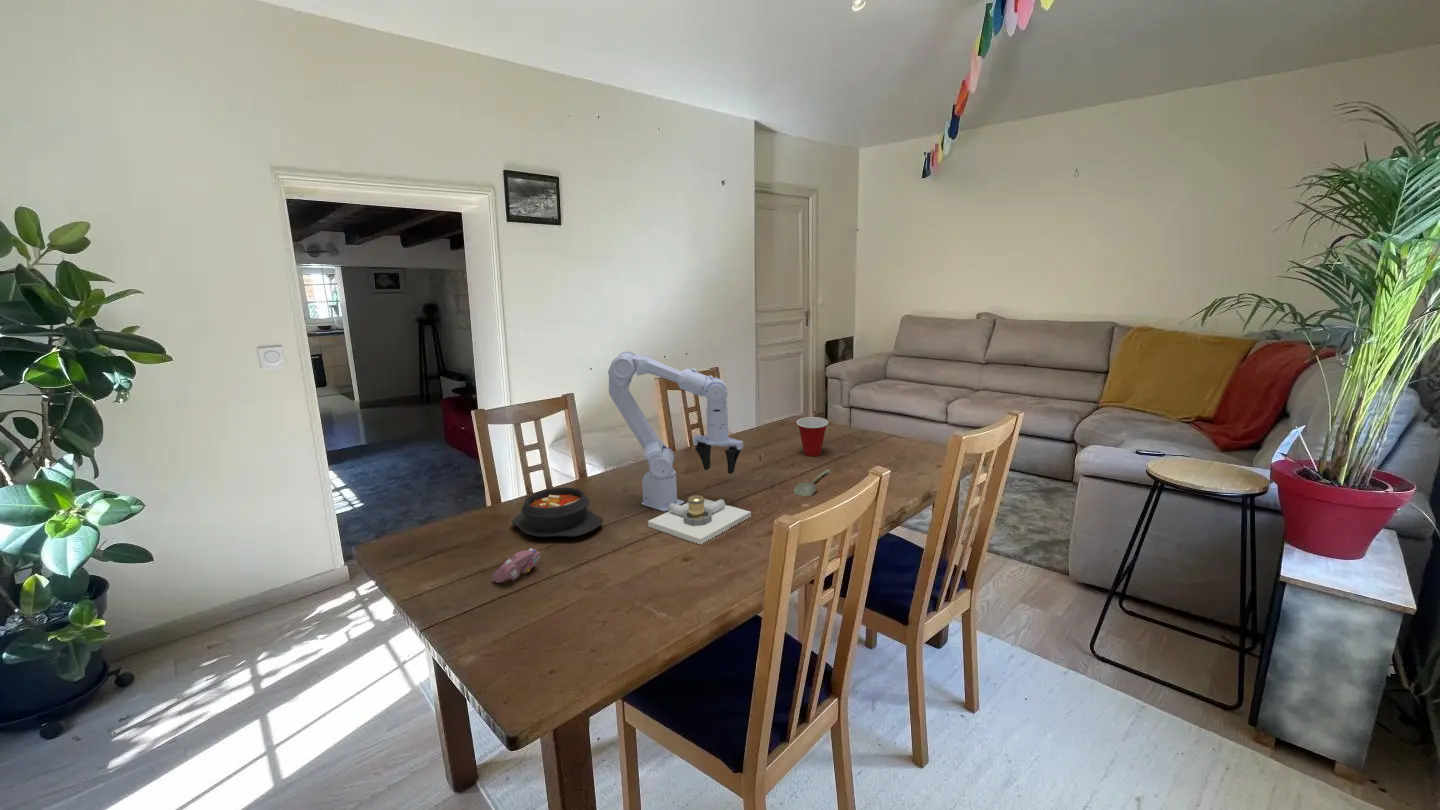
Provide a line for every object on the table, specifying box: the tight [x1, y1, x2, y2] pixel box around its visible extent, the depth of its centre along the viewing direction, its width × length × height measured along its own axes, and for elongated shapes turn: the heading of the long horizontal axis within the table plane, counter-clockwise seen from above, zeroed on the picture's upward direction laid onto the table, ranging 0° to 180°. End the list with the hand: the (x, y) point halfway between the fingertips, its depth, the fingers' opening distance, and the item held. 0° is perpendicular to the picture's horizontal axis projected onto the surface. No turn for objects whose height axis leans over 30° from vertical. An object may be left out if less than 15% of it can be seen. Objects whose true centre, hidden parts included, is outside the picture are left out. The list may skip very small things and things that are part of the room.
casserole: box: [511, 487, 604, 538], centre depth 153 cm, size 25×19×8 cm
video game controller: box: [492, 547, 542, 584], centre depth 129 cm, size 10×5×7 cm, turn 148°
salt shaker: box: [687, 494, 705, 519], centre depth 151 cm, size 4×4×6 cm
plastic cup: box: [796, 416, 829, 457], centre depth 206 cm, size 11×11×12 cm
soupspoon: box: [792, 469, 831, 497], centre depth 178 cm, size 22×3×7 cm
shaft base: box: [647, 498, 752, 546], centre depth 154 cm, size 18×20×4 cm
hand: (719, 470), depth 164 cm, fingers open, 7 cm apart
